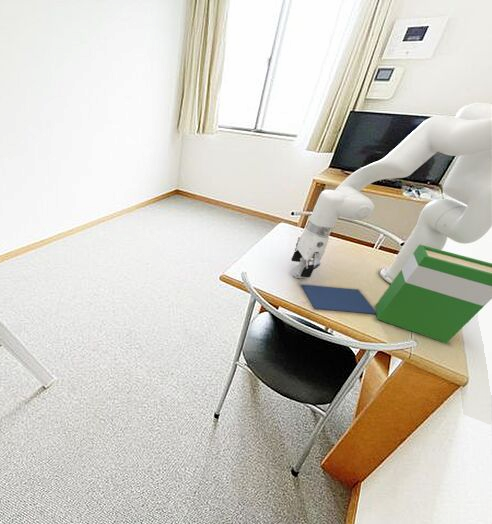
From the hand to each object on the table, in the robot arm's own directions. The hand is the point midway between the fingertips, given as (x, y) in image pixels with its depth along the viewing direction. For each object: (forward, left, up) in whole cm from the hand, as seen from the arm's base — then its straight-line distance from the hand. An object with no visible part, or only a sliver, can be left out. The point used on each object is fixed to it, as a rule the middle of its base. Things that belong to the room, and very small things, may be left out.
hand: (299, 268), depth 111 cm
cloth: (-9, +12, -3) cm, 16 cm away
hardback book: (-27, +21, -3) cm, 35 cm away
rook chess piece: (0, 0, -3) cm, 3 cm away
